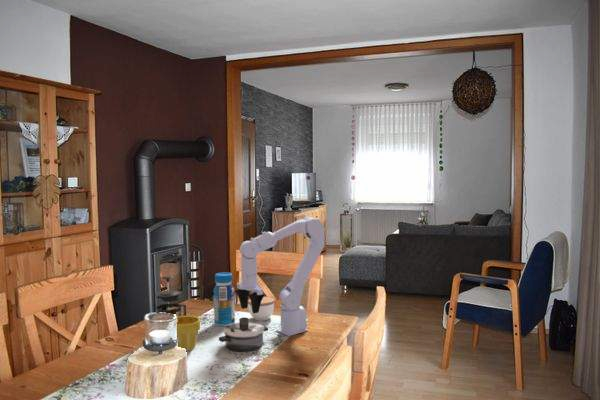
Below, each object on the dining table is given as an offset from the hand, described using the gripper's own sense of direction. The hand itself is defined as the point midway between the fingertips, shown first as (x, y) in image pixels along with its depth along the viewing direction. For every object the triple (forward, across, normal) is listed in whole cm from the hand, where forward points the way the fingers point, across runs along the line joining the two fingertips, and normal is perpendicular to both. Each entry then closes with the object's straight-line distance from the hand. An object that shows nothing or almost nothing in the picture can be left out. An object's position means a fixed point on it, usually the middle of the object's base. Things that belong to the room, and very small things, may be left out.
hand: (249, 310), depth 182 cm
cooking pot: (+9, +7, -7) cm, 14 cm away
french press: (+10, -16, -24) cm, 30 cm away
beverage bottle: (+10, -19, 0) cm, 21 cm away
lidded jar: (+10, -15, +15) cm, 23 cm away
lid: (+4, +7, -7) cm, 11 cm away
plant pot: (+10, -4, -24) cm, 26 cm away
